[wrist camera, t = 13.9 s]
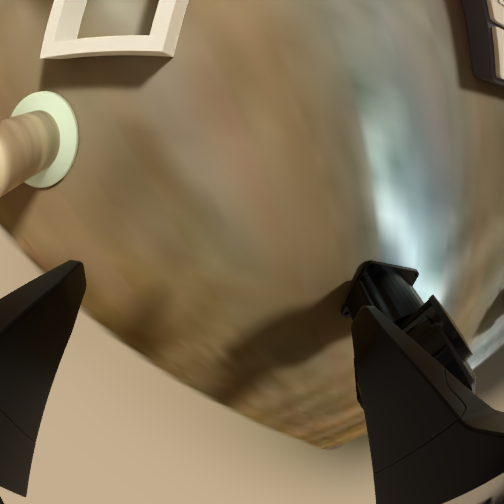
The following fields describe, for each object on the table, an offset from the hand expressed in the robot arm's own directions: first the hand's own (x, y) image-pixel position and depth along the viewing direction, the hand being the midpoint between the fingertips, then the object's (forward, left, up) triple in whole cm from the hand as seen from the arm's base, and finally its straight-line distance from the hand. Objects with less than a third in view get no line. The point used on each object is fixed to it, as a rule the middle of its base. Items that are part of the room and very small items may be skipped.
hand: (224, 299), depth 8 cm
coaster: (+16, -1, -13) cm, 21 cm away
